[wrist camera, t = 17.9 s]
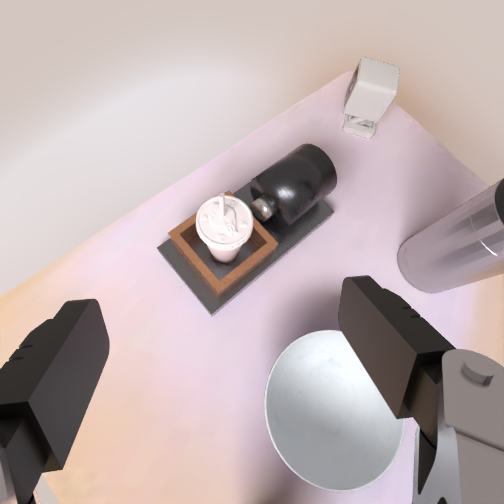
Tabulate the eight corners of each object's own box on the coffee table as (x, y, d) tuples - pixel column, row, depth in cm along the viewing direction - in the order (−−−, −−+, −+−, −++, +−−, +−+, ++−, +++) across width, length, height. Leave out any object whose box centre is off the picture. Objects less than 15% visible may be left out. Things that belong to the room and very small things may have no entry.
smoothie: (231, 222, 42) (235, 161, 29) (255, 257, 41) (271, 209, 28) (192, 243, 41) (178, 189, 28) (217, 281, 39) (214, 242, 26)
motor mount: (279, 167, 49) (292, 122, 39) (329, 217, 46) (356, 182, 37) (159, 252, 42) (141, 222, 32) (212, 316, 39) (208, 304, 30)
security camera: (338, 105, 55) (362, 54, 46) (374, 115, 55) (405, 65, 46) (333, 131, 53) (357, 82, 43) (370, 140, 53) (402, 94, 43)
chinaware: (391, 388, 38) (430, 395, 31) (326, 495, 34) (354, 533, 27) (304, 311, 41) (321, 302, 34) (231, 401, 36) (234, 413, 29)
